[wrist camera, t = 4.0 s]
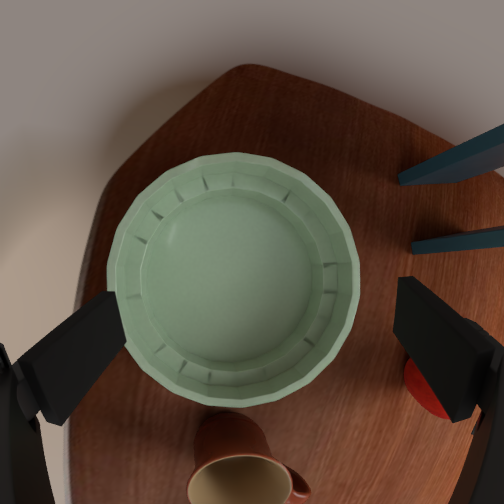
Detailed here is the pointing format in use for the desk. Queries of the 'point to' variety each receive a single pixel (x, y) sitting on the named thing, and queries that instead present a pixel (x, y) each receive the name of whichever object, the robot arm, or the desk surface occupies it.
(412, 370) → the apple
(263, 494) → the mug
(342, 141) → the desk surface
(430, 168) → the teal arch block
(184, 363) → the bowl
